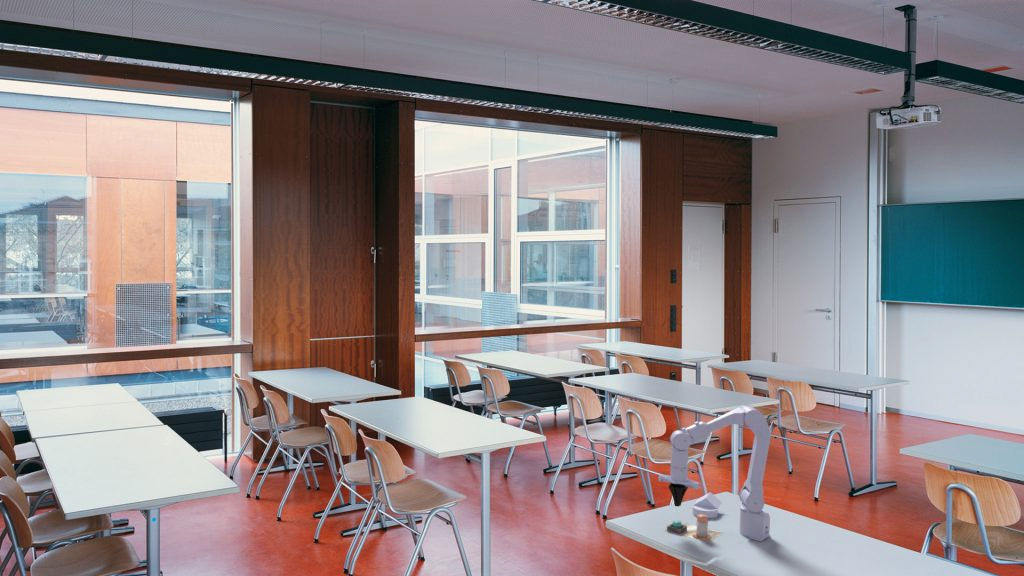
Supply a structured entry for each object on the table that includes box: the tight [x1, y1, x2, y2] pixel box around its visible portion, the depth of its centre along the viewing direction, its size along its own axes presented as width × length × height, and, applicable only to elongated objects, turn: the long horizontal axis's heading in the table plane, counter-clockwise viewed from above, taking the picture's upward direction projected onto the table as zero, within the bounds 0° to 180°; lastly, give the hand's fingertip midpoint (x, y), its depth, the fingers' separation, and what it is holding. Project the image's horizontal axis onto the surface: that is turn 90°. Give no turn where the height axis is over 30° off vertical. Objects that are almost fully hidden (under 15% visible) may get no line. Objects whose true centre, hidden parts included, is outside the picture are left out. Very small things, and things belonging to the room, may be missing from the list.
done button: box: [672, 520, 683, 529], centre depth 273 cm, size 3×3×2 cm
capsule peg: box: [696, 514, 709, 538], centre depth 268 cm, size 4×4×7 cm
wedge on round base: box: [692, 491, 723, 519], centre depth 293 cm, size 9×7×13 cm
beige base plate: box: [665, 521, 724, 543], centre depth 273 cm, size 18×14×2 cm
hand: (677, 505), depth 273 cm, fingers closed
